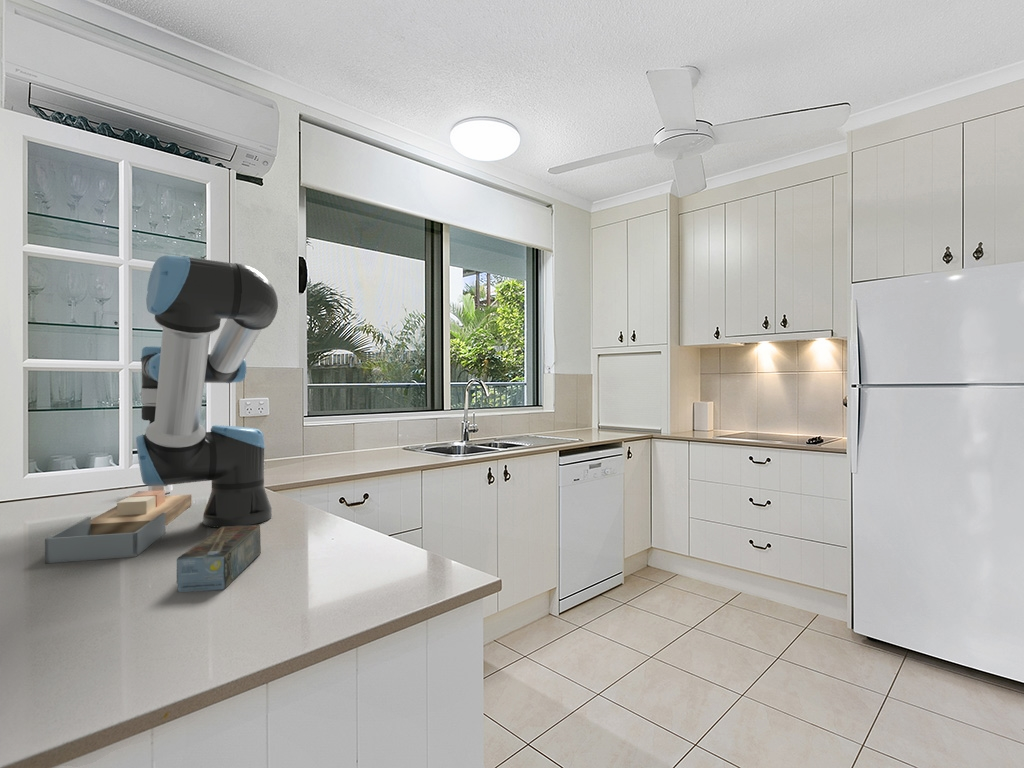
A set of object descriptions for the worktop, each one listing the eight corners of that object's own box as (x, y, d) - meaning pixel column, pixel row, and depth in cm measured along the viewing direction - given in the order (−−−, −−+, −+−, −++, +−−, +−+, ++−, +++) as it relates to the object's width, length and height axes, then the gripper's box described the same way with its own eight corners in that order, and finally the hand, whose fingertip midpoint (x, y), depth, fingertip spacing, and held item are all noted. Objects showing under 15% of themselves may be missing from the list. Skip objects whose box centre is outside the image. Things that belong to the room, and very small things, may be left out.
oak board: (191, 505, 150) (191, 494, 150) (155, 533, 123) (155, 520, 123) (132, 508, 146) (132, 497, 146) (82, 538, 119) (82, 524, 119)
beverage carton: (173, 593, 89) (173, 553, 89) (220, 556, 108) (220, 523, 108) (224, 591, 90) (224, 552, 90) (262, 554, 109) (262, 522, 109)
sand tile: (155, 508, 134) (155, 495, 134) (146, 513, 128) (146, 501, 128) (127, 509, 132) (127, 497, 132) (117, 515, 127) (117, 502, 127)
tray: (165, 532, 123) (165, 512, 123) (136, 556, 107) (136, 533, 107) (87, 537, 119) (87, 516, 119) (45, 563, 103) (44, 539, 103)
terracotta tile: (165, 501, 141) (165, 490, 141) (156, 507, 135) (156, 495, 135) (138, 503, 139) (138, 491, 139) (129, 508, 133) (129, 496, 133)
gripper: (151, 403, 150) (151, 489, 150) (132, 406, 137) (132, 499, 137) (182, 403, 152) (182, 488, 152) (166, 405, 139) (166, 497, 139)
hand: (158, 493), depth 145 cm, fingers closed
